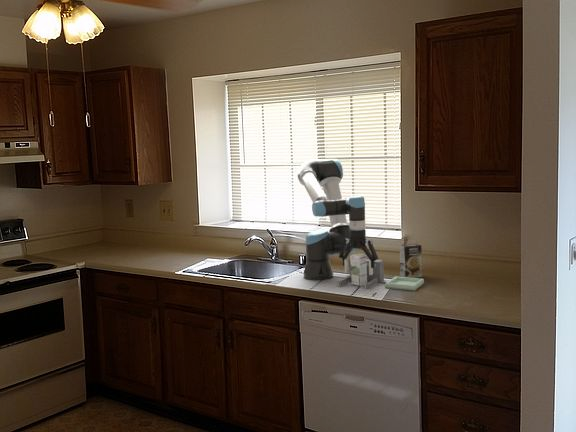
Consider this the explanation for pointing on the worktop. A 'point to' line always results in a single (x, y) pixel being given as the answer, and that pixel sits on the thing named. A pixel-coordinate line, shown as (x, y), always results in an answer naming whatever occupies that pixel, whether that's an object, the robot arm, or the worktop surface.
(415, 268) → the coffee box
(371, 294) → the worktop surface
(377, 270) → the bay
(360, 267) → the syrup box
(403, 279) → the tray
